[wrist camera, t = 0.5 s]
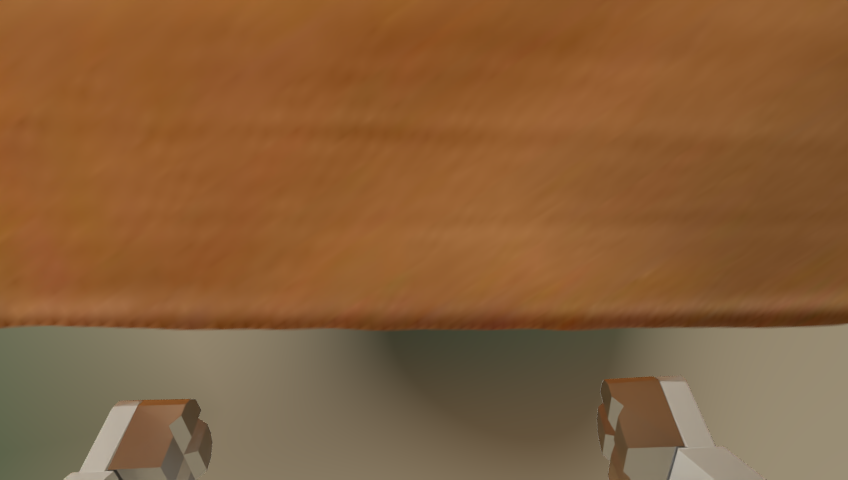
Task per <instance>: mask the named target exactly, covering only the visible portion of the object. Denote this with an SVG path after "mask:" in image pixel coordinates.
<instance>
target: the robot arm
mask: <svg viewBox="0 0 848 480" xmlns="http://www.w3.org/2000/svg"><path fill="white" fill-rule="evenodd" d="M600 393H601V397H602V400H603V403H602V404H601V405H600V406H599V407H598V412H597V432H598V438H599V443H600V447H601V451H602V455H603V456H604V457H606V458H607V459H608V460H609V461H610V464H609V471H608V477H609V480H767V479H765V478H764V477H763V476H761V475H760V474H759V473H758V472H756V471H755V470H754V469H752V468H751V467H750V466H749V465H747V464H746V463H745V462H744V461H742V460H741V459H740V458H738V457H737V456H736V455H735V454H733V453H732V452H731V451H729V450H728V449H727V448H725V447H724V446H716V445H715V443H714V440H713V438H712V436H711V434H710V432H709V429H708V427H707V425H706V423H705V421H704V418H703V416H702V414H701V412H700V410H699V407H698V405H697V403H696V401H695V398H694V396H693V394H692V392H691V390H690V387H689V385H688V383H687V381H686V379H685V378H684V377H683V376H663V377H636V378H619V379H604V380H603V382H602V385H601V390H600ZM200 412H201V409H200V407H199V405H198V403H197V401H196V400H195V399H175V400H174V399H173V400H135V401H134V400H133V401H119V402H118V403H117V404H116V405H115V406H114V407H113V408H112V409H111V411H110V413H109V415H108V417H107V419H106V421H105V423H104V425H103V427H102V429H101V431H100V433H99V435H98V437H97V438H96V440H95V442H94V444H93V446H92V448H91V450H90V452H89V454H88V456H87V458H86V460H85V462H84V464H83V466H82V467H81V469H80V472H73V473H71V474H70V475H68V476H67V477H66V478H65V479H63V480H198V479H199V478H200V477H201V476H202V475H203V474H204V473H205V472H206V471H207V469H208V465H209V463H210V459H211V452H212V437H211V432H210V429H209V427H208V424H206V423H205V422H203V421H202V420H200V419H199V418H198V417H199V414H200Z"/></svg>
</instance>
